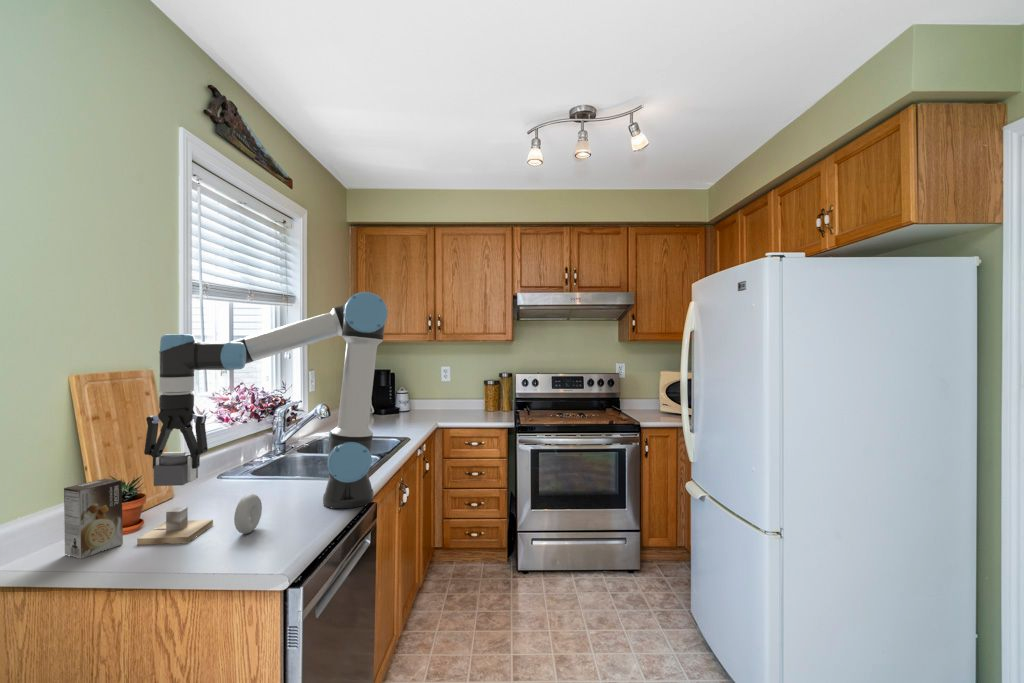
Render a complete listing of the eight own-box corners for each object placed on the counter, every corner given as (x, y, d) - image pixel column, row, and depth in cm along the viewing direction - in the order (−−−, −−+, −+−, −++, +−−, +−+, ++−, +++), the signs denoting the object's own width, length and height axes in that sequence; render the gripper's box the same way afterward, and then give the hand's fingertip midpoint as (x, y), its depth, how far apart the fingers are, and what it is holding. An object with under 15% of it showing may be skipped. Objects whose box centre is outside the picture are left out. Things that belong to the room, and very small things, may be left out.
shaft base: (212, 525, 135) (212, 501, 135) (188, 542, 123) (188, 516, 123) (166, 526, 134) (166, 502, 134) (137, 544, 122) (137, 518, 122)
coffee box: (106, 541, 125) (106, 477, 125) (123, 544, 122) (123, 479, 122) (63, 555, 116) (63, 487, 116) (80, 559, 114) (80, 490, 114)
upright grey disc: (244, 540, 125) (244, 500, 125) (231, 540, 125) (231, 500, 125) (264, 525, 135) (264, 488, 135) (251, 525, 135) (251, 488, 135)
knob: (197, 477, 133) (197, 449, 133) (182, 485, 126) (182, 455, 126) (170, 478, 132) (170, 449, 132) (153, 486, 125) (153, 455, 125)
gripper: (224, 391, 134) (223, 476, 133) (145, 391, 132) (144, 478, 132) (209, 394, 126) (208, 484, 126) (126, 394, 124) (125, 486, 124)
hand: (176, 481), depth 129 cm, fingers closed on knob, 7 cm apart
